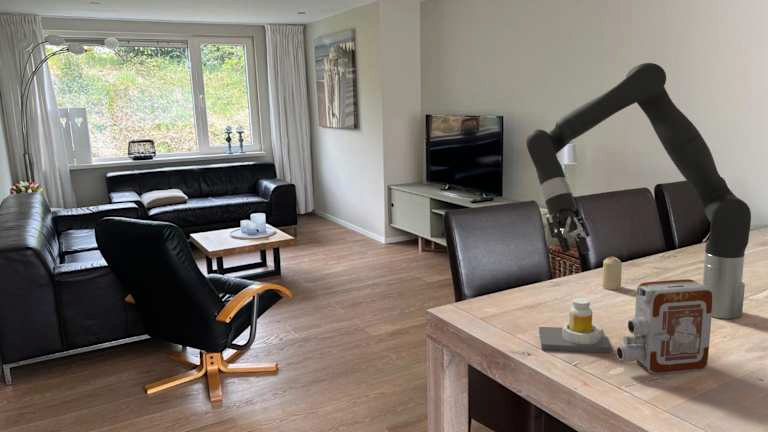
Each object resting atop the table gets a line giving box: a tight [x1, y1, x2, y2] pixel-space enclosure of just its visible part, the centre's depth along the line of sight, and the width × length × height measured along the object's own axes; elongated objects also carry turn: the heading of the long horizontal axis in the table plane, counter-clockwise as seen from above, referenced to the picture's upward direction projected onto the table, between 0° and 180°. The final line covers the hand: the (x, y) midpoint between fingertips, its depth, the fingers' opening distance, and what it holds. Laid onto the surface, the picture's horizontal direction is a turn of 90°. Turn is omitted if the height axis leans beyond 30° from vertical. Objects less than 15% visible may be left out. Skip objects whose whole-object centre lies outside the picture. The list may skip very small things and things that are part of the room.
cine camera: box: [616, 278, 713, 375], centre depth 126 cm, size 9×19×20 cm, turn 95°
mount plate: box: [538, 321, 611, 354], centre depth 143 cm, size 16×11×4 cm
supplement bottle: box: [568, 297, 593, 333], centre depth 142 cm, size 5×5×10 cm
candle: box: [602, 256, 623, 291], centre depth 181 cm, size 6×6×10 cm
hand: (576, 252), depth 150 cm, fingers open, 8 cm apart
